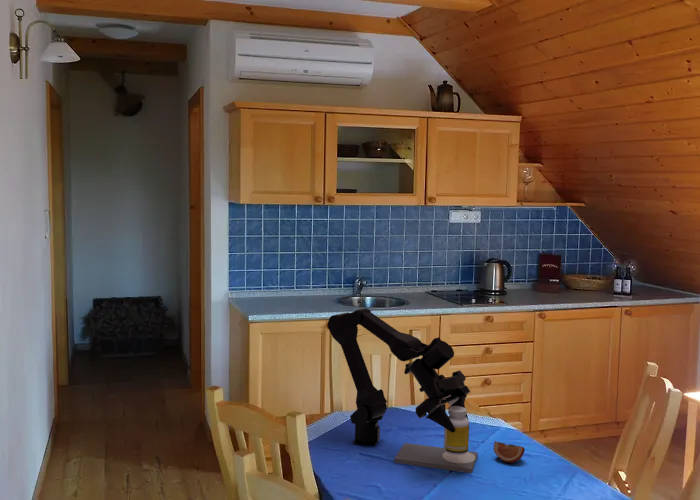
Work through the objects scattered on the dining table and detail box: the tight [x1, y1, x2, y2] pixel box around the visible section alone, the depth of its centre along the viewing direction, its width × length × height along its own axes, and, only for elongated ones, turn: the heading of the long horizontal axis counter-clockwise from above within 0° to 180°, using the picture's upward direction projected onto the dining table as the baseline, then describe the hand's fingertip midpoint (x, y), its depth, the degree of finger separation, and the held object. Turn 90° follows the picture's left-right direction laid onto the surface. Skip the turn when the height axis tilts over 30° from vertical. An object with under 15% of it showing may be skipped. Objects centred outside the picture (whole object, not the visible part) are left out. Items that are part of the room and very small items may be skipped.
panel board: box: [393, 442, 479, 474], centre depth 199 cm, size 21×12×1 cm, turn 72°
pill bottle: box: [443, 406, 470, 455], centre depth 190 cm, size 6×6×12 cm
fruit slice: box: [493, 440, 525, 464], centre depth 199 cm, size 8×7×5 cm
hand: (461, 428), depth 189 cm, fingers closed on pill bottle, 6 cm apart
